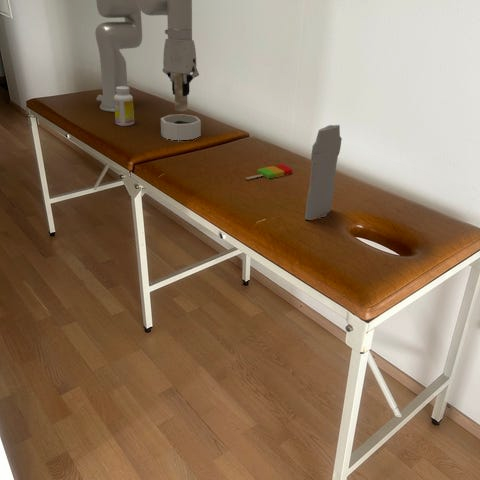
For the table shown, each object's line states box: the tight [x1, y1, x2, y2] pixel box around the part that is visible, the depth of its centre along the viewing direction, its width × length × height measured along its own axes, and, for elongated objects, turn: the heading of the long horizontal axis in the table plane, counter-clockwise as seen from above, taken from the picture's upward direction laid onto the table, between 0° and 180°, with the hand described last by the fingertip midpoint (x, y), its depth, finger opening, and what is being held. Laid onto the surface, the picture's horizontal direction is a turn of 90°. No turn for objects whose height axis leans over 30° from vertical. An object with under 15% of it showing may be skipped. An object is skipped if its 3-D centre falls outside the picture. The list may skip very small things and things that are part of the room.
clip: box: [174, 120, 190, 124], centre depth 175 cm, size 6×6×3 cm
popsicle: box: [245, 164, 293, 180], centre depth 146 cm, size 6×15×2 cm, turn 125°
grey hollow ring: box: [160, 113, 202, 142], centre depth 175 cm, size 13×13×6 cm
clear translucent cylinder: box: [174, 73, 189, 113], centre depth 169 cm, size 3×3×14 cm
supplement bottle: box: [114, 86, 135, 127], centre depth 183 cm, size 7×7×13 cm
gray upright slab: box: [304, 124, 343, 220], centre depth 119 cm, size 11×4×22 cm, turn 136°
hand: (180, 94), depth 169 cm, fingers closed on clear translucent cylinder, 3 cm apart
